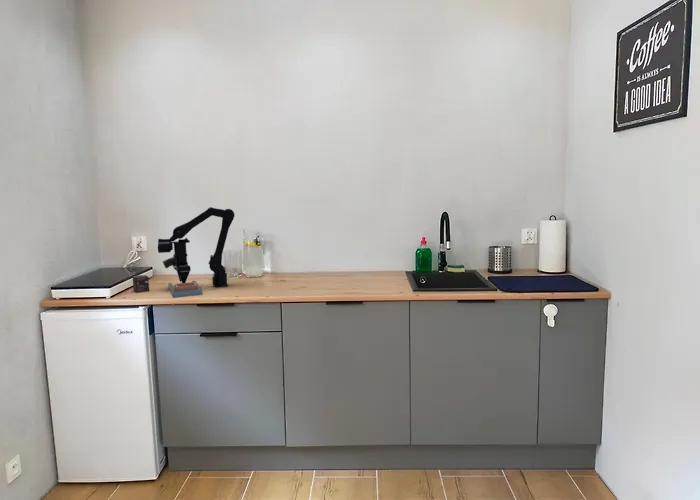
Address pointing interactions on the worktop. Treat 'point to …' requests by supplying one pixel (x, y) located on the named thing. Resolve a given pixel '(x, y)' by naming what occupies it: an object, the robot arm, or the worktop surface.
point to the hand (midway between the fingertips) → (182, 282)
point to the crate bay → (185, 291)
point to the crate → (185, 286)
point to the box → (140, 283)
